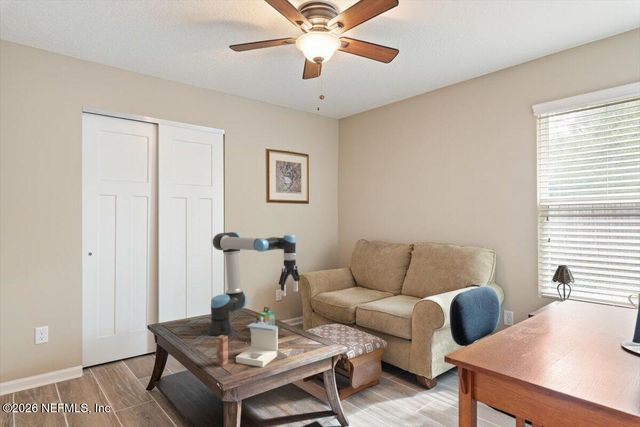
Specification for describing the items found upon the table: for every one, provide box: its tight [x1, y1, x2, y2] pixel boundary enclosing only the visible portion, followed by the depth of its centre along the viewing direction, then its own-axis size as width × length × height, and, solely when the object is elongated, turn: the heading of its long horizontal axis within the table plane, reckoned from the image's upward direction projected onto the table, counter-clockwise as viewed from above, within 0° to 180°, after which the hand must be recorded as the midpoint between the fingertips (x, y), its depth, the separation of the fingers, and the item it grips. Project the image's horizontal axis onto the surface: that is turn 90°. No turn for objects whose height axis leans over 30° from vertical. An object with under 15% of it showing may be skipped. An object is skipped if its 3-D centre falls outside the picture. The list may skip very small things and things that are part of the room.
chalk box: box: [255, 306, 276, 326], centre depth 240 cm, size 9×9×15 cm
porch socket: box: [235, 322, 279, 368], centre depth 192 cm, size 16×16×16 cm
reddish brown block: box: [216, 335, 229, 367], centre depth 186 cm, size 4×4×14 cm
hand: (289, 293), depth 225 cm, fingers open, 13 cm apart
